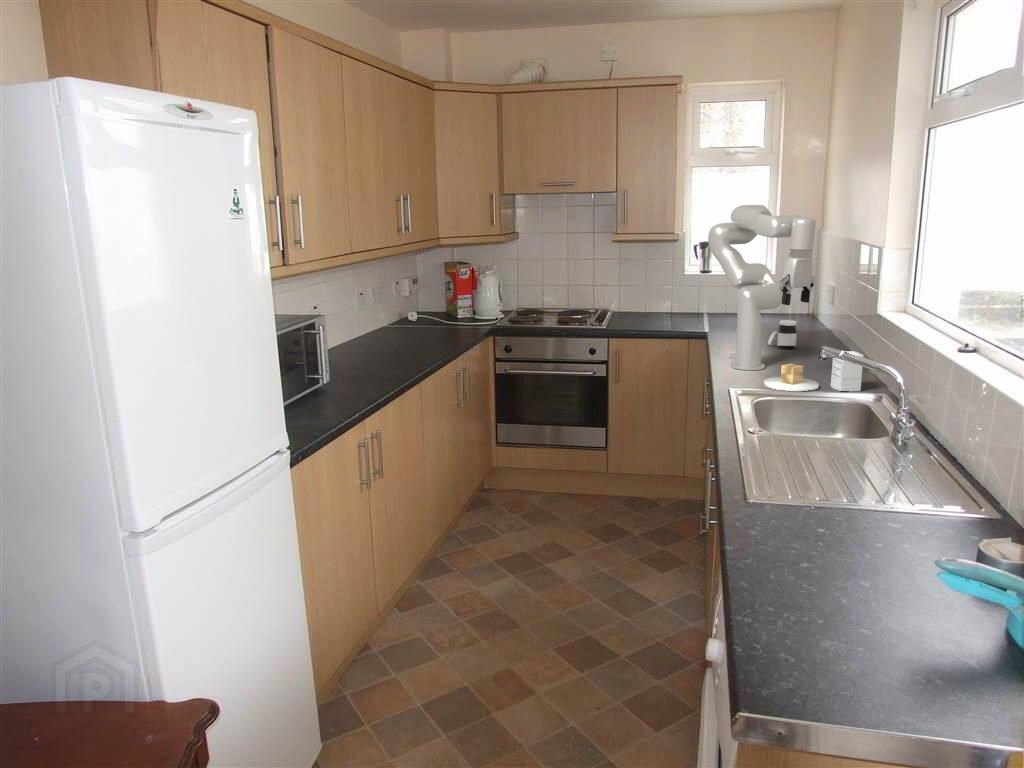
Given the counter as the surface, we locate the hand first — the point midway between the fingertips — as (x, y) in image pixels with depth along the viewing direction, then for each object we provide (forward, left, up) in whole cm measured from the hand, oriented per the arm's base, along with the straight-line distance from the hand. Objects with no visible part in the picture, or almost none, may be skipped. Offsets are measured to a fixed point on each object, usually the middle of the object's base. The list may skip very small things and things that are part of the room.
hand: (795, 303), depth 268 cm
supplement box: (+19, +5, -28) cm, 34 cm away
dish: (+5, -6, -28) cm, 29 cm away
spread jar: (-43, +48, -28) cm, 70 cm away
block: (+5, -6, -27) cm, 28 cm away
